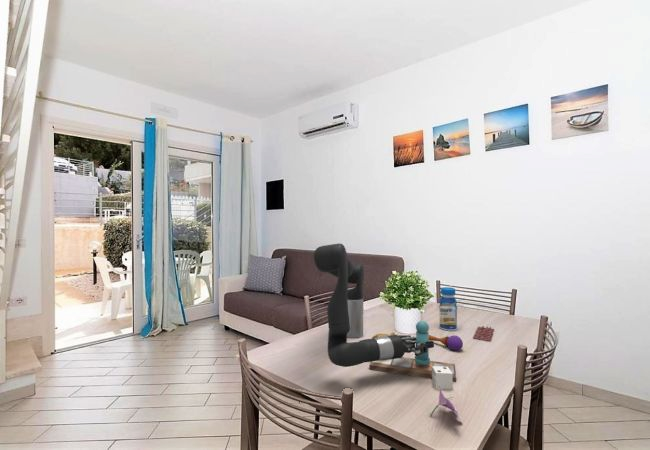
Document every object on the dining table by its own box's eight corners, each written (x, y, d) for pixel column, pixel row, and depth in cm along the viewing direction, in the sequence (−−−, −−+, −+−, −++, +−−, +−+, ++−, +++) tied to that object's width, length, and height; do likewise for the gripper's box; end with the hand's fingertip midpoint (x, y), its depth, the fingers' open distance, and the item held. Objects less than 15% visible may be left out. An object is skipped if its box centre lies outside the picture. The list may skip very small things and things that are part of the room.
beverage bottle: (460, 329, 158) (460, 288, 158) (450, 332, 153) (450, 290, 154) (446, 324, 165) (445, 286, 165) (435, 327, 160) (435, 287, 161)
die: (436, 389, 100) (436, 372, 100) (432, 381, 105) (432, 365, 105) (452, 389, 99) (452, 373, 99) (447, 382, 104) (447, 366, 104)
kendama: (423, 328, 147) (465, 336, 132) (423, 342, 146) (465, 351, 131) (415, 328, 144) (458, 336, 128) (415, 342, 142) (457, 352, 127)
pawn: (414, 364, 111) (414, 322, 111) (415, 358, 116) (415, 318, 116) (429, 366, 109) (429, 323, 110) (430, 360, 114) (430, 319, 114)
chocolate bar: (494, 331, 157) (494, 327, 157) (490, 343, 141) (490, 338, 141) (478, 328, 161) (478, 324, 161) (472, 340, 144) (472, 335, 144)
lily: (454, 442, 76) (473, 406, 77) (410, 408, 83) (427, 375, 83) (458, 430, 87) (475, 398, 87) (419, 401, 93) (434, 371, 94)
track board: (369, 369, 114) (369, 364, 114) (375, 357, 124) (375, 352, 124) (456, 382, 104) (456, 377, 104) (454, 368, 114) (454, 363, 114)
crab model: (377, 338, 146) (377, 326, 146) (404, 344, 139) (404, 331, 139) (360, 348, 134) (360, 335, 134) (388, 355, 126) (388, 341, 126)
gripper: (398, 343, 101) (442, 337, 107) (376, 330, 115) (416, 325, 121) (398, 367, 101) (442, 360, 107) (376, 351, 115) (416, 345, 120)
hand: (428, 341), depth 114 cm, fingers closed on pawn, 4 cm apart
